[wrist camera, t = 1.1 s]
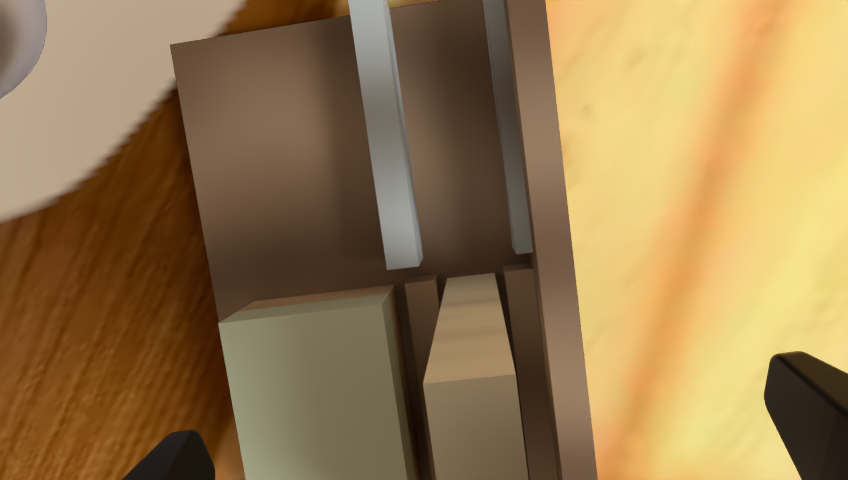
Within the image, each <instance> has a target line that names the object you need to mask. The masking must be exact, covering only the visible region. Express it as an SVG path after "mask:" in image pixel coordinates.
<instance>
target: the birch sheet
mask: <svg viewBox="0 0 848 480" xmlns="http://www.w3.org/2000/svg"><path fill="white" fill-rule="evenodd" d="M423 388H424V395H425V402H426V409H427V416H428V423H429V431H430V438H431V445H432V452H433V459H434V466H435V473H436V480H529V479H528V471H527V463H526V455H525V446H524V438H523V430H522V422H521V414H520V406H519V398H518V389H517V381H516V374H515V369H514V364H513V359H512V354H511V350H510V345H509V340H508V335H507V331H506V326H505V321H504V316H503V311H502V307H501V302H500V297H499V292H498V288H497V283H496V278H495V273H487V274H479V275H471V276H462V277H454V278H447V281H446V286H445V290H444V294H443V299H442V303H441V307H440V312H439V316H438V320H437V325H436V329H435V333H434V338H433V342H432V346H431V351H430V355H429V360H428V364H427V368H426V373H425V377H424V381H423Z"/></svg>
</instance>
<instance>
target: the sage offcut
mask: <svg viewBox="0 0 848 480" xmlns="http://www.w3.org/2000/svg"><path fill="white" fill-rule="evenodd" d="M218 326H219V332H220V337H221V343H222V348H223V354H224V360H225V365H226V371H227V377H228V382H229V388H230V394H231V399H232V405H233V411H234V416H235V422H236V428H237V433H238V439H239V445H240V450H241V456H242V462H243V467H244V473H245V479H246V480H416V479H415V472H414V465H413V458H412V451H411V444H410V437H409V430H408V423H407V416H406V409H405V402H404V395H403V388H402V382H401V375H400V368H399V361H398V354H397V347H396V340H395V333H394V326H393V319H392V312H391V305H390V298H389V294H382V295H373V296H365V297H356V298H348V299H339V300H331V301H322V302H314V303H305V304H297V305H288V306H280V307H271V308H263V309H254V310H246V311H238V312H236V313H234V314H233V315H231V316H229V317H228V318H226V319H224V320H223V321H221V322H219V323H218Z"/></svg>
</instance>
